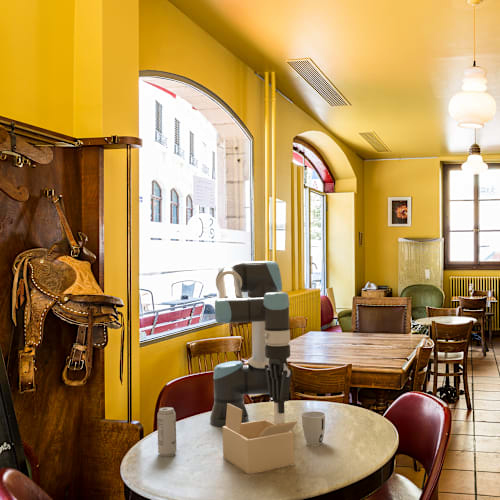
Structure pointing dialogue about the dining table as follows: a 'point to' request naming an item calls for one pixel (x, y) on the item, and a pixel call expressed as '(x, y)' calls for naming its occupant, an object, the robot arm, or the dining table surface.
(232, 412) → the side flap
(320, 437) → the cup
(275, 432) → the front flap
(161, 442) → the energy drink can
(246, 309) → the robot arm
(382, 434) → the dining table surface
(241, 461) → the carton
